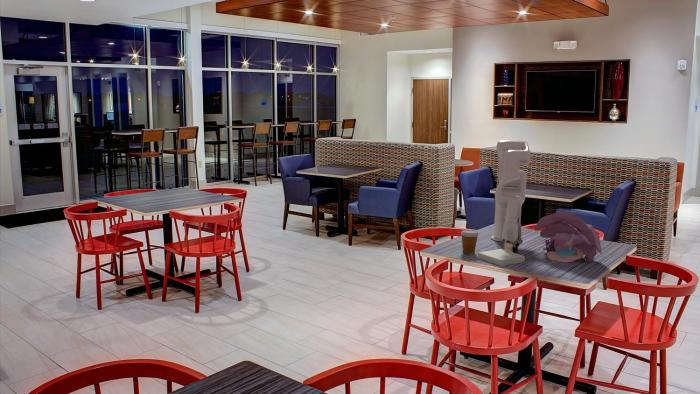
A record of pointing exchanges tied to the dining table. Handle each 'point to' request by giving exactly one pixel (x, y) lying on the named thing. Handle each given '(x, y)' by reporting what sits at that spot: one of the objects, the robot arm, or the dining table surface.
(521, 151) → the robot arm
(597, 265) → the dining table surface
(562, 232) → the purple clam shell
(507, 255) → the sage stand
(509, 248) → the maple block
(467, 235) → the disposable coffee cup
